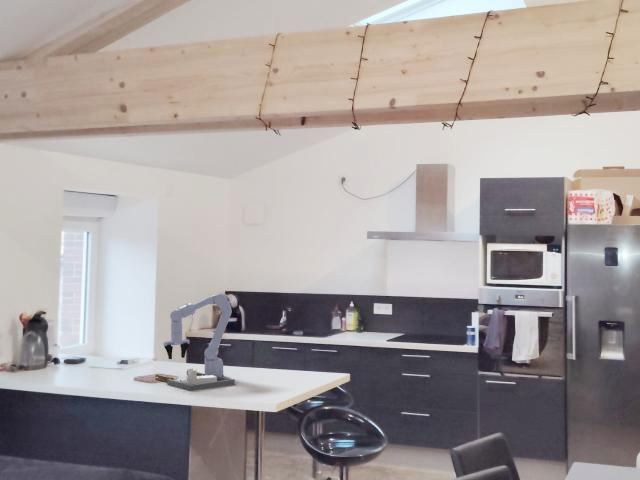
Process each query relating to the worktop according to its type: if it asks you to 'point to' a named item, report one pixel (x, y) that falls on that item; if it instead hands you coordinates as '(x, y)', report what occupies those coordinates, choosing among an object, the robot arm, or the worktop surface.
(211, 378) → the bracket
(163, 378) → the brown rectangular beams
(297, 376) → the worktop surface
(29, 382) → the worktop surface
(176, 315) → the robot arm
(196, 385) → the gray u-shaped frame
